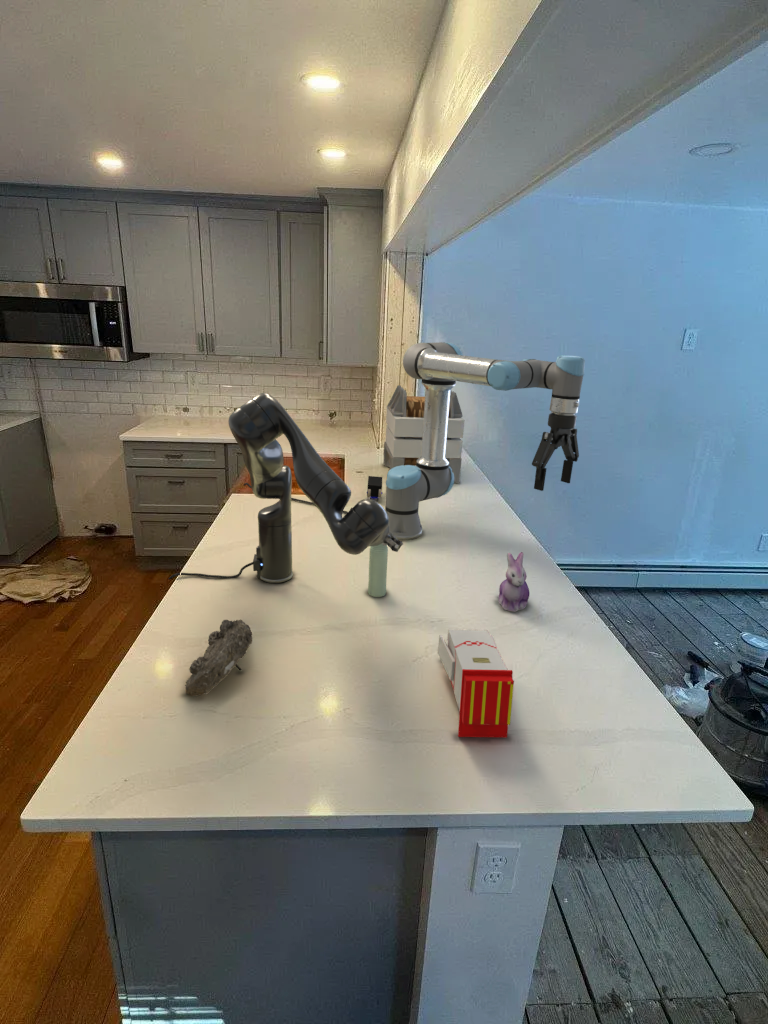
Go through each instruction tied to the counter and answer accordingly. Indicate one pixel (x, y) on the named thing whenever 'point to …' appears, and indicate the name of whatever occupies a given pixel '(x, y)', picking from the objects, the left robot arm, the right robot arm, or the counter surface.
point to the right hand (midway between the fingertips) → (552, 485)
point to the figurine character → (374, 487)
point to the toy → (478, 682)
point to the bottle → (377, 570)
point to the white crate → (419, 431)
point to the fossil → (219, 656)
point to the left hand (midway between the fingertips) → (377, 530)
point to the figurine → (514, 585)
